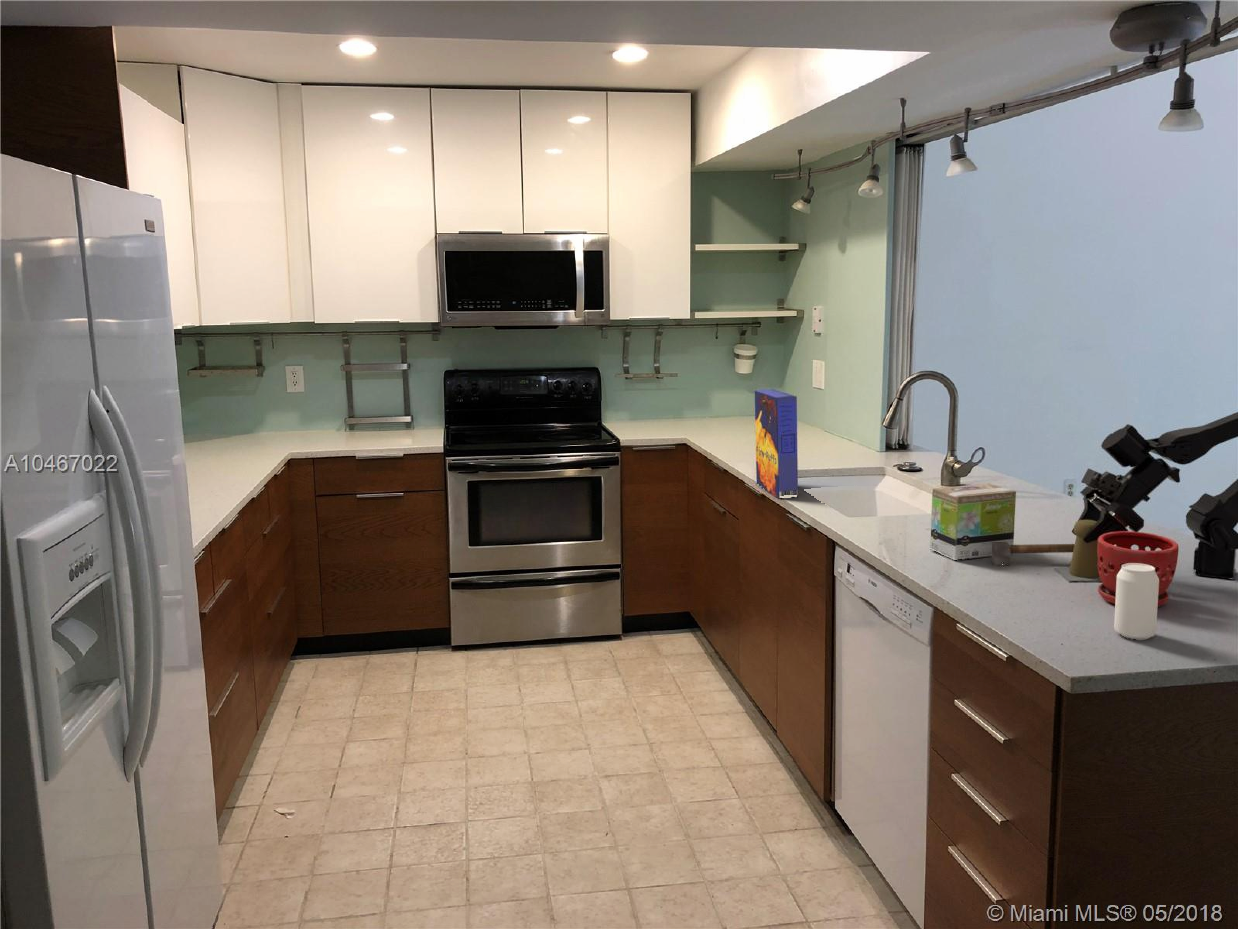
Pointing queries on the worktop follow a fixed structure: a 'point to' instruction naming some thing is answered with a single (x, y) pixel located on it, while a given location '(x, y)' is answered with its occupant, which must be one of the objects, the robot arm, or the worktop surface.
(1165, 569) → the plant pot
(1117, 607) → the beverage can
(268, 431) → the worktop surface
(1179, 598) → the worktop surface
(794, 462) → the cereal box
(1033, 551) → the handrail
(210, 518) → the worktop surface
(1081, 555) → the cork
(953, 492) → the tea box
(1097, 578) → the pad
